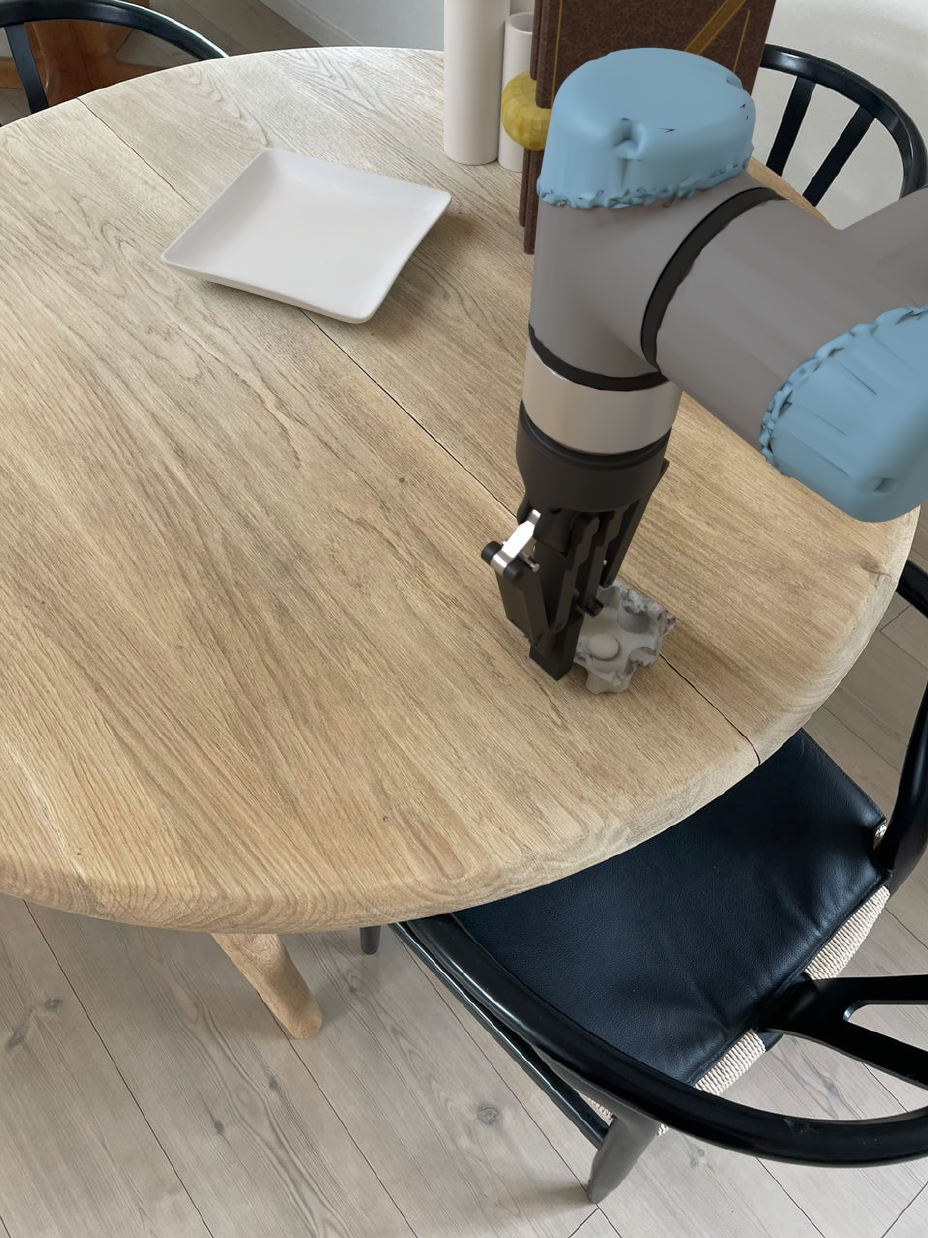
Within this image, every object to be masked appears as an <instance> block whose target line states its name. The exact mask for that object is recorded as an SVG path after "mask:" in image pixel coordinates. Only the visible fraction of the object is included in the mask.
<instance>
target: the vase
mask: <svg viewBox="0 0 928 1238" xmlns="http://www.w3.org/2000/svg"><path fill="white" fill-rule="evenodd" d="M534 4H535V0H443V151H444V154H445V155H446V156H447V157H448V158H449V159H450V160H452V161H454V162H456V163H457V164H462V165H468V166H480V165H486V164H489V163H492V162H494V161H496V160H497V163H499V165H500V166H501V167H502V168H504V169H505V170H507V171H510V172H515V173H522V166H523V153H524V147H522V146H521V145H519V144H518V143H516V142H515V141H514V140H512V139H511V138H510V137H509V136H508V134H507V133H506V132H505V129H504V127H503V124H502V120H501V100H502V94H503V92H504V89H505V87H506V85H507V83H508V82H509V81H510V80H511V79H513V78H514V77H515V76H517V75H518V74H520V73H523V72H525V71H530V58H531V45H532V31H533V18H534Z"/></svg>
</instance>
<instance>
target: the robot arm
mask: <svg viewBox="0 0 928 1238" xmlns="http://www.w3.org/2000/svg"><path fill="white" fill-rule="evenodd" d="M756 121H757V110H756V105H755V101H754V99H753V97H752V95H751V96H750V95H749V93H748V92H747V91H745V90H743V87H742V83H741V80H740V79H739V78H738V77H737V76H736V75H735V74H734V73H733V72H731V71H730V70H728V69H727V68H725V67H724V66H722V65H720V64H718V63H716V62H714V61H712V60H709V59H707V58H704V57H702V56H698V55H695V54H691V53H688V52H683V51H678V50H671V49H663V48H638V49H628V50H620V51H616V52H612V53H610V54H608V55H607V56H605V57H602V58H599V59H597V60H591V61H588V62H586V63H585V64H583V65H582V66H580V67H579V68H578V69H576V70H575V71H574V72H573V73H572V74H571V75H569V76H568V77H567V79H566V80H565V81H564V82H563V84H562V85H561V87H560V89H559V90H558V92H557V95H556V97H555V100H554V103H553V107H552V113H551V119H550V124H549V130H548V136H547V141H546V147H545V153H544V158H543V164H542V170H541V175H540V176H539V178H538V180H537V194H538V195H539V206H538V217H537V229H536V241H535V253H534V254H533V265H532V266H533V267H532V278H531V290H530V301H529V312H528V322H527V327H528V328H527V329H528V333H527V341H526V352H525V363H524V374H523V381H522V391H521V392H522V393H521V399H520V402H519V409H518V410H519V411H518V419H517V420H518V421H517V430H516V441H515V459H516V464H517V468H518V470H519V474H520V477H521V479H522V482H523V485H524V495H523V497H522V500H521V501H520V503H519V506H518V508H517V511H516V515H515V516H516V522H517V525H518V527H517V529H516V530H515V531H514V533H512V535H511V536H510V537H509V538H505V539H504V540H503V541H502V543H500V542H498V541H497V540H491V541H489V542H488V543H487V544H485V546H484V547H483V549H482V550H481V553H480V559H481V560H482V561H483V562H485V563H486V564H487V565H488V566H490V567H491V568H492V569H493V570H494V571H493V572H494V575H495V578H496V583H497V586H498V590H499V594H500V598H501V602H502V605H503V609H504V613H505V617H506V619H507V620H508V621H509V622H510V623H511V624H512V625H514V627H515V626H516V627H517V628H518V629H519V630H520V631H521V632H523V633H524V634H525V635H526V636H525V637H527V639H528V641H527V642H528V643H529V645H530V646H529V654H528V658H529V659H531V660H532V661H533V662H534V663H535V664H536V665H537V666H538V667H540V669H542V670H543V671H544V672H545V673H546V674H547V675H549V677H551V678H552V679H553V680H554V681H555V682H559V681H560V680H561V679H562V678H563V677H565V676H566V675H567V674H568V673H570V672H571V671H572V670H573V665H574V663H573V662H574V657H575V652H576V648H577V643H578V639H579V634H580V630H581V626H582V624H583V621H584V617H585V612H586V613H587V614H588V615H590V616H591V617H592V618H594V617H596V616H597V615H598V614H599V613H600V612H601V611H602V609H603V608H604V604H603V603H602V602H600V601H599V600H598V599H597V598H596V595H597V590H598V587H599V586H601V587H602V588H604V589H606V588H608V587H609V586H611V585H612V584H613V582H614V580H615V579H617V576H618V574H619V572H620V570H621V568H622V564H623V562H624V560H625V558H626V555H627V553H628V550H629V548H630V545H631V544H632V541H633V539H634V536H635V534H636V532H637V530H638V527H639V525H640V523H641V520H642V518H643V515H644V513H645V511H646V509H647V506H648V504H649V501H650V499H651V498H652V495H653V493H654V492H655V490H656V488H657V487H658V485H659V483H660V482H661V480H662V479H663V477H664V475H665V473H666V472H667V470H669V469H668V468H669V467H670V464H671V463H670V460H668V459H667V458H666V457H665V456H666V452H667V449H668V445H669V441H670V437H671V434H672V429H673V424H674V423H675V421H676V418H677V414H678V411H679V408H680V404H681V401H682V396H683V392H684V393H685V394H687V395H688V396H689V397H690V398H692V399H693V400H694V401H695V402H696V403H697V404H698V405H700V406H701V407H702V408H704V409H705V410H706V411H707V412H709V414H711V415H712V416H713V417H715V418H716V419H717V420H719V421H720V422H721V423H722V424H723V425H724V426H725V427H727V428H729V429H730V430H731V431H732V432H733V433H734V434H736V435H737V436H738V437H740V438H741V439H742V440H743V441H744V442H745V443H747V444H748V445H749V446H750V447H751V448H753V449H754V450H756V452H758V454H760V455H761V456H762V457H764V458H765V462H766V463H767V464H770V466H771V467H772V468H773V469H775V470H776V471H778V472H779V474H780V475H781V476H783V477H787V478H788V479H790V478H792V479H795V480H796V481H797V482H799V483H800V484H802V485H803V486H805V487H806V488H808V489H809V490H810V491H812V492H813V493H815V494H816V495H818V496H819V497H821V498H822V499H824V500H825V501H827V502H828V503H830V504H831V505H833V506H834V507H836V508H837V509H838V510H840V511H842V513H844V514H846V515H848V516H849V517H850V518H852V519H854V520H856V521H859V522H863V523H871V524H877V523H886V522H889V521H893V520H896V519H898V518H901V517H902V516H904V515H906V514H908V513H911V512H912V511H913V510H915V509H917V508H918V507H919V506H921V505H922V504H923V503H925V502H926V501H927V500H928V183H926V184H925V185H923V186H920V187H919V188H917V189H915V190H913V191H911V192H910V193H907V194H906V195H904V196H902V198H900V199H898V200H896V201H893V202H892V203H890V204H888V205H886V206H884V207H883V208H881V209H879V210H877V211H875V212H872V214H869V215H867V216H866V217H863V218H861V219H860V220H858V221H855V222H853V223H852V224H851V225H848V226H847V227H845V228H843V229H839V228H836V227H835V226H833V225H831V224H829V223H828V222H826V221H825V220H823V219H821V218H819V217H818V216H816V215H814V213H811V212H809V211H808V210H806V209H805V208H803V207H801V206H799V205H798V204H796V203H795V202H793V201H791V200H790V199H788V198H786V197H784V196H783V195H781V194H779V192H778V193H777V191H776V190H775V189H773V188H772V187H770V186H769V185H767V184H765V183H764V182H762V181H761V180H759V179H757V178H755V177H754V176H752V175H751V174H750V173H749V172H748V171H747V169H748V167H749V166H750V164H749V163H750V161H751V157H752V155H753V151H754V150H755V146H754V143H753V136H754V131H755V126H756Z"/></svg>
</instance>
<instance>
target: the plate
mask: <svg viewBox="0 0 928 1238" xmlns="http://www.w3.org/2000/svg"><path fill="white" fill-rule="evenodd" d="M452 201H453V195H452V193H450V192H449V191H445V190H443V189H439V188H437V187H432V186H429V185H424V184H420V183H417V182H412V181H408V180H405V179H401V178H397V177H393V176H389V175H385V174H381V173H378V172H374V171H370V170H366V169H362V168H359V167H354V166H350V165H346V164H343V163H339V162H334V161H331V160H327V159H323V158H318V157H315V156H311V155H307V154H303V153H300V152H296V151H291V150H287V149H282V148H276V147H267V148H264V149H262V150H261V151H260V152H258V153H257V154H256V156H254V158H252V159H251V160H250V161H249V163H248V164H247V165H246V166H245V167H244V168H243V169H242V170H241V171H240V172H239V173H238V175H236V176H235V178H233V179H232V181H231V182H229V184H228V185H227V186H226V187H225V188H224V189H223V190H222V191H221V192H220V193H219V194H218V195H217V196H216V197H215V199H213V201H212V202H210V204H208V206H206V208H205V209H204V210H203V211H202V212H201V213H199V215H198V216H197V217H196V218H195V219H194V220H193V221H192V222H191V223H190V224H189V225H188V226H187V227H186V228H185V229H184V230H182V233H180V234H179V235H178V236H177V237H176V238H175V240H173V241H172V242H171V243H170V244H169V246H167V247H166V249H165V250H164V251H163V252H162V254H161V255H160V260H161V262H162V263H163V264H164V265H166V266H167V267H168V268H170V269H172V270H173V271H176V272H178V273H181V274H183V275H186V276H189V277H192V278H196V279H199V280H202V281H207V282H210V283H215V284H219V285H221V286H225V287H229V288H233V289H237V290H241V291H244V292H246V293H247V292H248V293H251V294H254V295H257V296H261V297H265V298H268V299H271V300H274V301H278V302H281V303H285V304H286V305H287V304H288V305H292V306H295V307H298V308H301V309H305V310H307V311H310V312H314V313H317V314H320V315H323V316H325V317H329V318H331V319H335V320H338V321H341V322H344V323H349V324H353V325H355V324H363V323H366V322H369V320H371V319H372V317H373V316H374V315H375V313H376V312H377V311H378V309H379V308H380V306H381V304H382V303H383V302H384V300H385V299H386V297H387V295H388V294H389V293H390V290H391V288H392V287H393V285H394V284H395V282H396V280H397V278H398V276H399V275H400V273H401V271H402V270H403V268H404V267H405V265H406V264H407V262H408V260H410V258H411V257H412V255H413V253H414V252H415V251H416V249H417V248H418V247H419V245H420V244H421V243H422V241H423V240H424V239H425V237H426V236H427V235H428V233H429V232H430V231H431V230H432V228H434V226H435V225H436V223H437V222H438V221H439V220H440V219H441V217H442V216H443V215H444V214H445V212H446V211H447V210H448V208H449V207H450V205H451V204H452Z"/></svg>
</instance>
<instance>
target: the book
mask: <svg viewBox="0 0 928 1238" xmlns="http://www.w3.org/2000/svg"><path fill="white" fill-rule="evenodd" d="M776 2H777V0H535V4H534V18H533V31H532V45H531V58H530V71H525V72H523V73H520V74H518V75H517V76H515V77H514V78H513V79H511V80H510V81H509V82H508V83H507V85H506V87H505V89H504V92H503V94H502V100H501V120H502V124H503V127H504V129H505V132H506V133H507V134H508V136H509V137H510V138H511V139H512V140H514V141H515V142H516V143H518V144H519V145H521V146H522V147H524V153H523V166H522V172H521V182H520V197H519V207H518V222H519V225H520V226H521V227H523V228H524V230H523V231H524V233H523V244H522V245H523V252H524V253H526V254H528V255H534V253H535V241H536V229H537V217H538V206H539V195H538V194H537V180H538V178H539V176H540V175H541V170H542V164H543V158H544V153H545V147H546V141H547V136H548V130H549V124H550V119H551V113H552V107H553V103H554V100H555V97H556V95H557V92H558V90H559V89H560V87H561V85H562V84H563V82H564V81H565V80H566V79H567V77H568V76H569V75H571V74H572V73H573V72H574V71H575V70H576V69H578V68H579V67H580V66H582V65H583V64H585V63H586V62H588V61H591V60H597V59H599V58H602V57H605V56H607V55H608V54H610V53H612V52H616V51H620V50H628V49H638V48H663V49H671V50H678V51H683V52H688V53H691V54H695V55H698V56H702V57H704V58H707V59H709V60H712V61H714V62H716V63H718V64H720V65H722V66H724V67H725V68H727V69H728V70H730V71H731V72H733V73H734V74H735V75H736V76H737V77H738V78H739V79H740V80H741V83H742V87H743V90H745V91H747V92H748V93H749V95H750V96H751V97H752V95H753V91H754V87H755V84H756V81H757V77H758V72H759V70H760V69H759V68H760V64H761V61H762V57H763V53H764V49H765V46H766V42H767V38H768V34H769V30H770V27H771V22H772V18H773V15H774V11H775V8H776V4H777V3H776Z"/></svg>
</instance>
